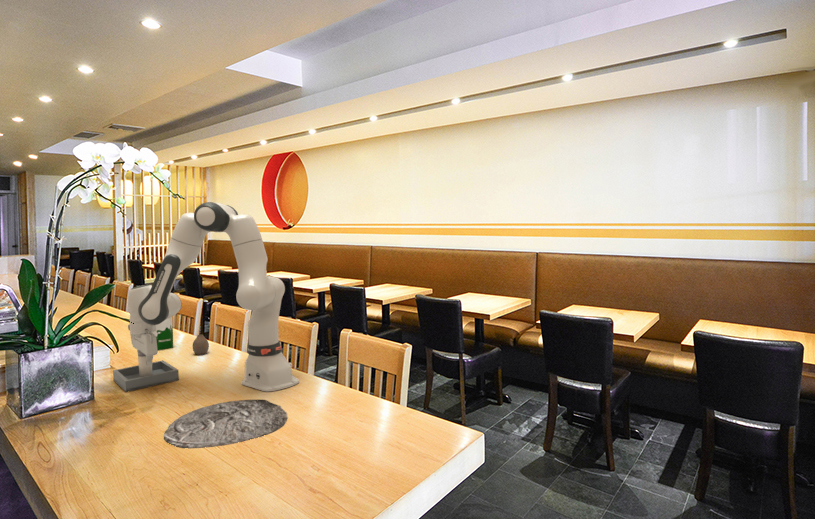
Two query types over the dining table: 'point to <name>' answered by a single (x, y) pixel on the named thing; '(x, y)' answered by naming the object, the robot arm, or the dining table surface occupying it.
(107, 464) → the dining table surface
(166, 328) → the milk carton
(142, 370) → the shaker
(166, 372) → the tray
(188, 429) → the worn metal disc
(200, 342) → the vase
